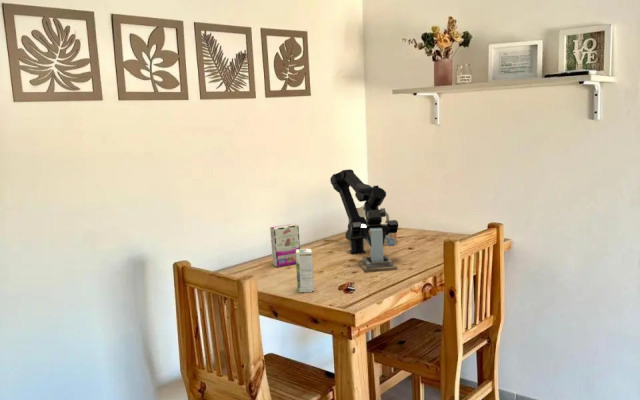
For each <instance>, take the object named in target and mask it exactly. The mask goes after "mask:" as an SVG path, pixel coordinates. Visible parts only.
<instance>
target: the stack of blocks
mask: <svg viewBox="0 0 640 400" xmlns="http://www.w3.org/2000/svg"><path fill="white" fill-rule="evenodd" d="M364 218H365V220H366V217H364ZM381 224H387V223H385V222H381ZM369 235H370V230H369ZM397 236H398V235H397V232H396V233H389V234H388V235H386V237H385V240H384V245H383V246H396V244H397V243H398V238H397ZM363 241H364V246H370V245H369V244H368V242H367V241H366V240H365V239H363ZM349 245H351V241H350V240H349Z"/></svg>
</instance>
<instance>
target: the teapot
mask: <svg viewBox="0 0 640 400" xmlns="http://www.w3.org/2000/svg"><path fill="white" fill-rule="evenodd" d="M356 208H357V211H358V214H359V216H360V217H366V216H365V210H364V209H363V208H364V204H363V205H362V206H360V207H356ZM385 218H386V220H385V222H384V223H387V222H388V220H390V215H389V213H388V212H387V211H386V216H385ZM381 219H382V220H383V217H381Z"/></svg>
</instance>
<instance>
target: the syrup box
mask: <svg viewBox="0 0 640 400" xmlns="http://www.w3.org/2000/svg"><path fill="white" fill-rule="evenodd" d="M313 261H314V260H313V250H312V248H300V249H297V250H296V264H295V268H296V270H295V271H296V285H297V286H296V287H297V293H298V294H299V292H304V293H313V292H312V291H314V292H315V288H314V287H315V285H314V263H313Z"/></svg>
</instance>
